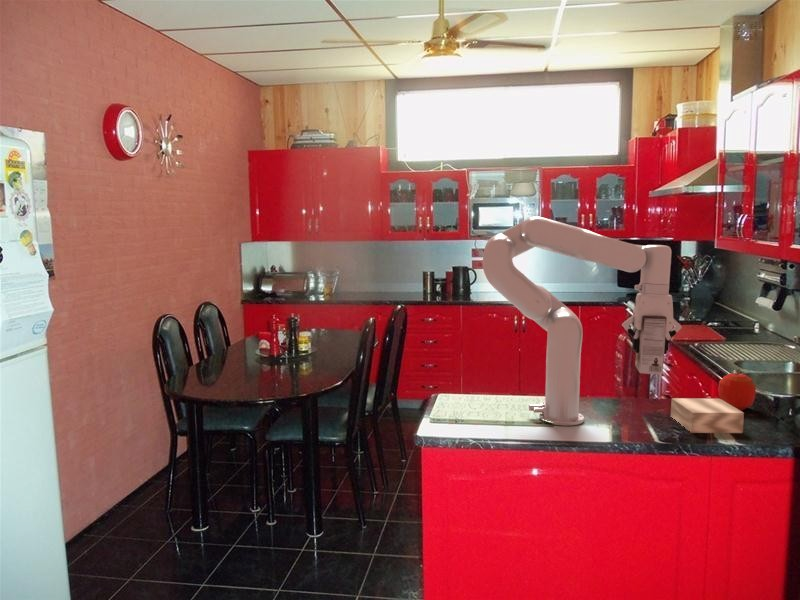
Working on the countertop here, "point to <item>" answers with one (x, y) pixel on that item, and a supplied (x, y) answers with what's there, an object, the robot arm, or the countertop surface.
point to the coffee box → (651, 345)
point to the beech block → (707, 415)
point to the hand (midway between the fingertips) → (649, 352)
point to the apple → (737, 390)
